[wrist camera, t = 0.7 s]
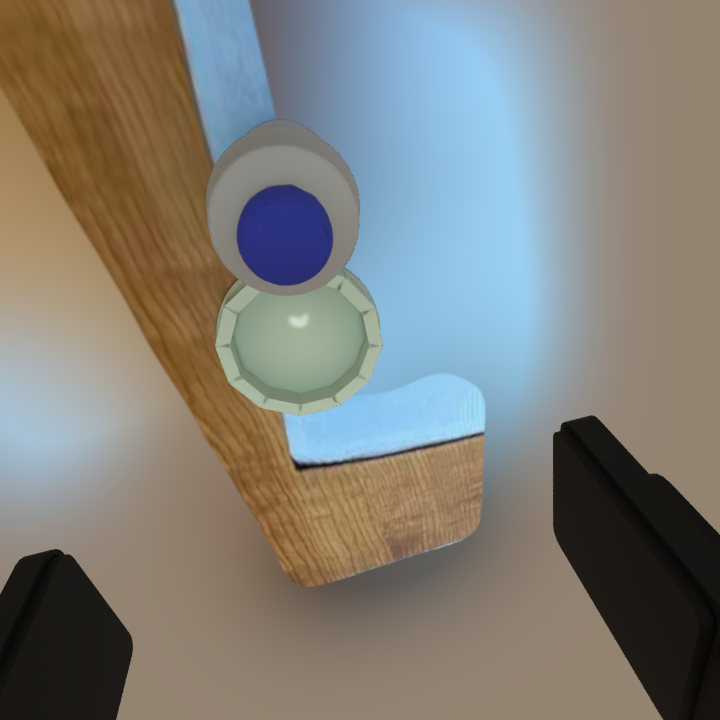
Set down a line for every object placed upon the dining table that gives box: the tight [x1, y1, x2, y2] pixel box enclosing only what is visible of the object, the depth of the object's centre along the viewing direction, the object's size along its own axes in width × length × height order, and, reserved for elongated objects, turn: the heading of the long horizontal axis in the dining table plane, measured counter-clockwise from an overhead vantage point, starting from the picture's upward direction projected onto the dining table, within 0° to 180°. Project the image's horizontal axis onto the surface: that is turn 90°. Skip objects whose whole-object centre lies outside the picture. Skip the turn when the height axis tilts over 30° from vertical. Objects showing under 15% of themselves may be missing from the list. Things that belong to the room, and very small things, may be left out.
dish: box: [215, 267, 382, 416], centre depth 39 cm, size 13×13×2 cm
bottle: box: [206, 119, 360, 296], centre depth 26 cm, size 7×7×20 cm
